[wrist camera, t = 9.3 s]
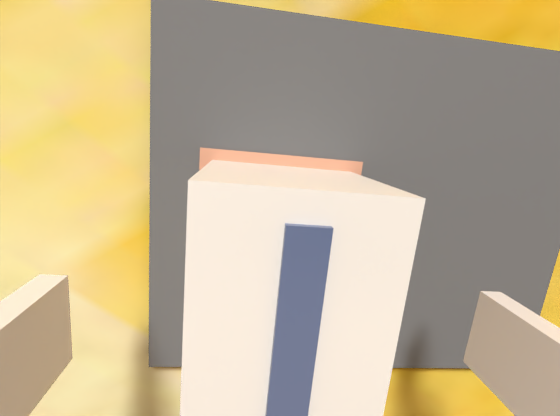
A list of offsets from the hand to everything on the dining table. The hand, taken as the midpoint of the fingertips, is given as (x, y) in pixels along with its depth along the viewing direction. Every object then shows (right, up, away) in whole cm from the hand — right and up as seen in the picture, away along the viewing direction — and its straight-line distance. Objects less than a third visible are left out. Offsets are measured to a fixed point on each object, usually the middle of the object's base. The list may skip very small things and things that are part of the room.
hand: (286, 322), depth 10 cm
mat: (+4, +3, +5) cm, 7 cm away
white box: (0, +1, +4) cm, 5 cm away
